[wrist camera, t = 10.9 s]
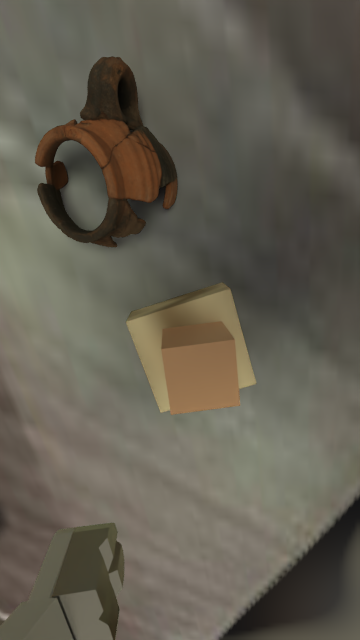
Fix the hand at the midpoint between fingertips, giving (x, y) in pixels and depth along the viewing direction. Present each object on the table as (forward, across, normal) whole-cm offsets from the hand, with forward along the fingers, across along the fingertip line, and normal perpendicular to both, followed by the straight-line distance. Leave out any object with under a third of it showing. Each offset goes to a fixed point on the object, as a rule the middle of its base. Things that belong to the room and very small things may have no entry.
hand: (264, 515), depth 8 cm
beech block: (+21, +1, +2) cm, 22 cm away
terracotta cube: (+17, +1, +2) cm, 18 cm away
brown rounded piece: (+22, +5, -13) cm, 26 cm away
